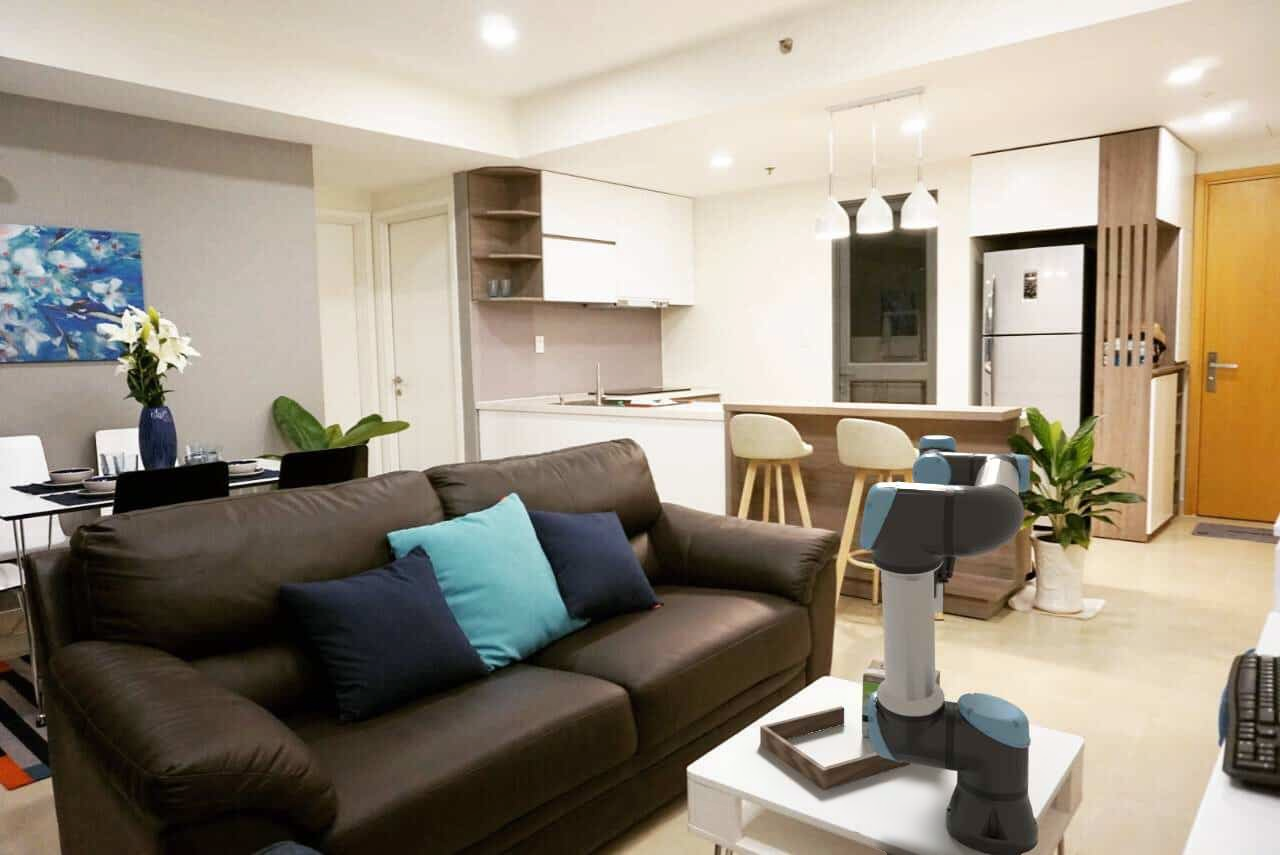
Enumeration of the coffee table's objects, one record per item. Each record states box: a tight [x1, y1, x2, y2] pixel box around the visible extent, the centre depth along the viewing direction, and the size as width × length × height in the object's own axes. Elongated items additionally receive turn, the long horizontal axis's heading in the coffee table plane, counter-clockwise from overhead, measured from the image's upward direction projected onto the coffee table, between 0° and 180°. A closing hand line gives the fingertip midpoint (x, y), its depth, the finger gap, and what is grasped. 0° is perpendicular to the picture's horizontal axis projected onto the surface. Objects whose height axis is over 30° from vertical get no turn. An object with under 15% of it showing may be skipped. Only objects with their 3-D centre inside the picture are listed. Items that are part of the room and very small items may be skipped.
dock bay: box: [759, 705, 911, 791], centre depth 182 cm, size 22×22×4 cm
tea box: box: [861, 659, 941, 738], centre depth 189 cm, size 15×10×15 cm
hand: (935, 610), depth 191 cm, fingers closed
